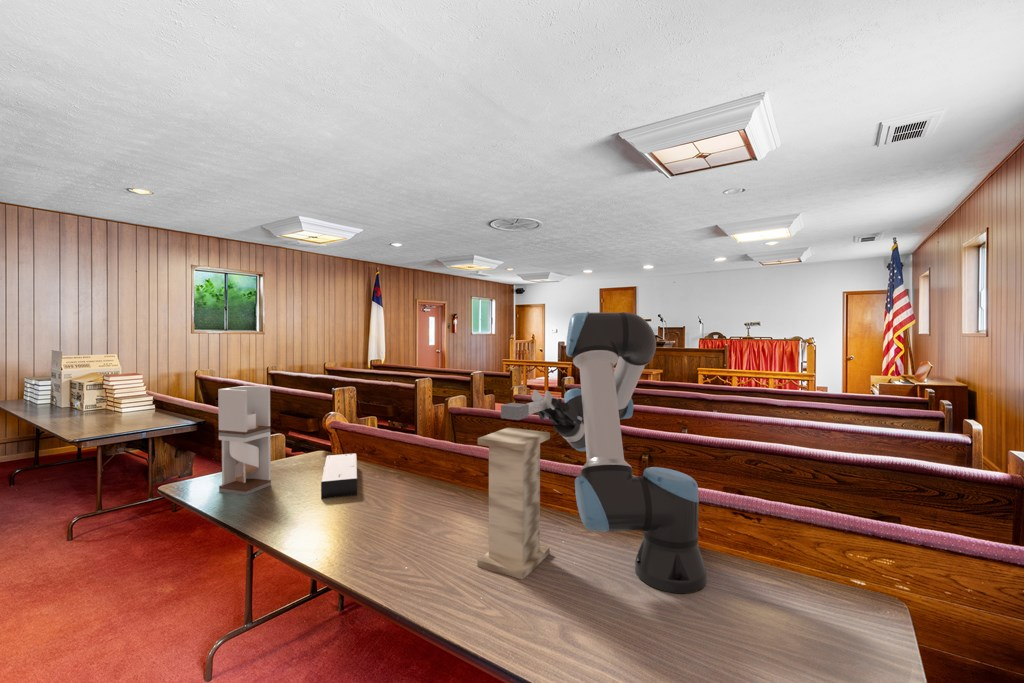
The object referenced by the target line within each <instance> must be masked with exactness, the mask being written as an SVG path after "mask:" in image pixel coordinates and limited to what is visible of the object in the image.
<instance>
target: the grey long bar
mask: <svg viewBox="0 0 1024 683" xmlns="http://www.w3.org/2000/svg"><path fill="white" fill-rule="evenodd" d="M555 398H556V397H555ZM556 399H557V400H558V398H556ZM548 408H550V406H549V405H548V404H547V403H546V402H545V401H544V399H541V400H538V401H531V402H527V403H518V402H509V403H506V404H502V405H500V418H501V419H506V420H516V421H521V420H523V419H526V418H528V417H529V416H530V415H532V414H537V413H536V412H539V411H542V410H545V409H548Z"/></svg>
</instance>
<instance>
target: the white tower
mask: <svg viewBox="0 0 1024 683" xmlns="http://www.w3.org/2000/svg"><path fill="white" fill-rule="evenodd" d="M217 394H218V400H217V401H218V402H217V404H218V405H217V406H218V440H219V441H221V478H222V479H221V483H222V484H220V485H218V492H220V493H226V494H233V495H240V496H248V495H250V494H253V493H254V492H258V491H260V490H263V489H265V488H267V487H270V486H271V485H272V482H271V481H272V480H271V479H272V478H271V476H272V474H271V472H272V470H271V467H272V466H271V465H272V464H271V461H272V460H271V459H272V457H271V455H272V454H271V452H272V451H271V450H272V449H271V386H257V385H256V386H255V385H243V386H242V385H241V386H233V387H225V388H218V393H217Z"/></svg>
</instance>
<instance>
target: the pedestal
mask: <svg viewBox="0 0 1024 683" xmlns="http://www.w3.org/2000/svg"><path fill="white" fill-rule="evenodd" d="M550 439H551V432H549V431H540V430H532V429H523V428H515V427H505V428H502V429H499V430H497V431H494V432H490V433H489V434H486V435H483V436H480V437H477V445H478V446H484V447H488V551H487V552H486V553H485V554H484V555H482V556H481V557H480V558H478V559H477V567H479V568H482V569H485V570H488V571H492V572H495V573H498V574H501V575H502V574H503V575H506V576H509V577H513V578H516V579H519V580H525V579H526V577H527V576H529V575H530V574H531V572H532V571H533V570H535V569H536V568H537V567H538V566H539V565H540V564H541V562H543V561H544V560H545V559H546V558H547V557H548V556H549V554H550V552H551V551H550V547H549V546H544V545H541V544H540V543H541V542H540V540H541V534H540V531H541V529H540V528H541V525H540V524H541V523H540V522H541V521H540V520H541V519H540V518H541V515H540V514H541V512H540V511H541V510H540V509H541V444H542V443H544V442H545V441H546V442H547V441H549V440H550Z"/></svg>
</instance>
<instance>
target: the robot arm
mask: <svg viewBox="0 0 1024 683" xmlns="http://www.w3.org/2000/svg"><path fill="white" fill-rule="evenodd" d="M656 350H657V339H656V335H655V332H654V330H653V328H652V326H651V325H650V324H649V323H648V322H647V321H646V319H644V318H643V317H642V316H640V315H638V314H635V313H632V312H627V311H625V312H623V311H622V312H590V311H586V312H575V313H573V314H572V315H571V317H570V319H569V323H568V328H567V335H566V347H565V353H566V356H567V357H569V358H572V363H573V365H574V366H575V367H576V368H578V369H579V379H580V388H570V389H569V390H568V389H567V391H565V393H564V403H562V401H563V400H562V399H561V398H557V399H556V397H555V396H554V395H553V394H551V392H550V391H549V390H545V392H544V396H542V394H541V393H540V392H539V391H538V390H537V389H533V391H532V396H531V400H532V402H534V401H538V400H541V399H544V401H545V402H546V403H547V404H548V405H549V406H550V408H548V409H545V410H542V411H539V412H536V413H535V414H537V416H538V417H539V420H541V421H544V420H546V419H548V421H549V422H550V423H552V425H553V428H554V430H555V431H556V432H557V433H558V434H559V435H560V436H561V437H562V438H563V439H564V440H565V441H566V442H567V443H568V444H569V446H571V448H573V449H575V450H576V451H579V452H586V453H585V455H586V462H585V464H584V465H582V467H581V468H580V475H579V476H577V477H576V478H575V480H574V488H575V489H574V490H575V498H576V506H577V510H578V514H579V517H580V520H581V522H582V524H583V526H584V527H585V528H586V529H587V530H589V531H592V532H604V533H607V532H608V533H609V532H643V533H642V534H643V536H642V540H641V543H640V545H639V549H638V551H637V554H636V557H635V564H634V565H635V566H634V568H635V570H634V571H635V574H636V576H637V577H638V579H639V580H641V581H642V582H643V583H644V584H646V585H648V586H650V587H652V588H654V589H657V590H659V591H664V592H668V593H674V594H690V593H695V592H698V591H700V590H702V589H703V588H704V587H705V586H706V584H707V569H706V566H705V563H704V560H703V557H702V553H701V551H700V547H699V510H700V509H699V506H700V505H699V503H700V498H699V486H698V483H697V481H696V480H695V479H694V478H693V477H692V476H690V475H688V474H686V473H684V472H682V471H681V472H680V471H678V470H674V469H672V468H671V469H670V468H666V467H658V466H651V467H646V468H645V469H644V470H643V472H642V475H634V474H633V468H632V465H631V464H630V463H628V462H627V461H626V459H625V455H624V449H623V448H624V447H623V439H622V429H621V421H620V420H624V419H630V418H632V416H634V415H633V414H634V413H633V412H634V401H633V399H632V396H633V395H634V392H635V389H636V386H637V385H638V382H639V380H640V378H641V376H642V373H643V371H644V370H645V367H646V366H647V365H648V364H650V363H651V361H652V360H653V358H654V356H655V353H656ZM614 366H615V368H614Z"/></svg>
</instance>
